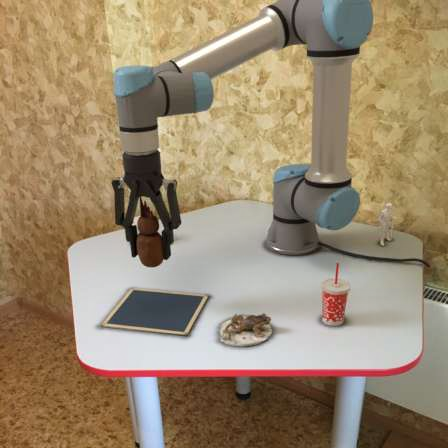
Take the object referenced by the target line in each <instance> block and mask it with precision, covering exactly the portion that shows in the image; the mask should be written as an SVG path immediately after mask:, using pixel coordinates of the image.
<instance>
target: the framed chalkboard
mask: <svg viewBox="0 0 448 448" xmlns="http://www.w3.org/2000/svg"><path fill="white" fill-rule="evenodd" d="M209 297H210V295H209V294H202V293H193V292H182V291H181V292H179V291H170V290H159V289H148V288H138V287H130V289H129V290H128V291H127V293H126V294H125V295H124V296H123V298H122V299H121V300H120V302H118V304H116V306H115V307H114V308H113V310H112V311H111V312H110V313H109V314H108V316H107V317H106V318H105V320H104V321H103V322H102V323H101V324H100V327H101V328H109V329H116V330H117V329H120V330H128V331H136V332H146V333H154V334H163V335H171V336H181V337H188V335H189V333H190V331H191V330H192V328H193V327H194V324H195V322H196V320H197V318H198V317H199V314H200V313H201V311H202V310H203V307H204V306H205V304H206V302H207V300H208V299H209Z"/></svg>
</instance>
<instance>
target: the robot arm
mask: <svg viewBox="0 0 448 448" xmlns="http://www.w3.org/2000/svg"><path fill="white" fill-rule="evenodd" d="M372 5H373V4H372V3H371V0H276V1H275V2H273V3H271V4H269V5H267V6H265V7H263V8H261V9H260V11H259V13H258V16H256V17H254V18H251V19H250V20H248V21H246V22H243V23H242V24H239V25H237V26H236V27H234V28H232V29H230V30H227V31H226V32H224V33H221V34H219V35H217V36H215V37H213V38H211V39H209V40H207V41H205V42H202V43H201V44H199V45H197V46H195V47H193V48H191V49H189V50H187V51H185V52H183V53H181V54H179V55H177V56H175V57H173V58H171V59H169V60H167V61H164V62H163V63H161V64H159V65H157V66H150V65H124V66H119V67H117V68H116V69H115V70H114V72H113V87H114V88H113V90H114V95H113V96H114V97H115V106H116V112H117V120H118V128H119V139H120V140H119V141H120V148H121V150H122V155H121V156H122V164H123V171H124V175H123V177H119V176H118V177H115V178H114V179H113V180H111V182H110V183H111V187H112V189H113V192H114V193H113V194H114V196H113V197H114V224H115V225H116V226H120V227H123V228H124V235H125V240H126V242H128V243H129V246H130V252H131V258H136V257H137V256H138V253H137V247H136V239H137V235H138V234H137V225H133V226H132V224H133V223H134V222H133V221H134V217H136V212H137V209H138V205H139V201H140V197H141V198H142V197H145V198H147V199H149V200H150V202H151V203H152V204H153V207H154V208H155V211H156V213H157V216H158V219H159V220H160V222H161V224H162V227H163V229H162V231H161V232H160V234H161V236H162V244H163V255H164V260H163V261H168V260H169V259H170V258H171V256H172V248H171V245H172V244H174V242H175V236H174V235H175V234H174V230H178V229H179V227H180V226H181V225H182V217H181V212H180V206H179V200H178V194H177V187H178V181H177V180H176V179H172V180H170V179H167V178H165V177H164V175H163V172H162V160H161V159H162V158H161V152H160V150H158V149H160V136H159V124H158V118H164V117H171V116H181V115H189V114H197V113H203V112H206V111H209V110H210V109H211V107H212V106H213V103H214V97H215V96H214V94H215V93H214V86H213V82H212V80H214V79H216V78H218V77H220V76H222V75H224V74H226V73H228V72H229V71H231V70H233V69H236V68H238V67H239V66H241V65H244V64H245V63H248V62H249V61H251V60H253V59H255V58H257V57H259V56H261V55H263V54H265V53H267V52H269V51H274V52H279V51H282V49H285V48H288V47H291V46H299V45H305V46H306V58H307V59H308V60H309V62H310V63H311V64H312V105H311V106H312V108H311V151H310V153H311V154H310V163H296V164H287V165H283V166H279V167H278V168H276V169H275V171H274V173H273V180H272V185H273V187H272V191H273V193H272V195H273V197H272V199H273V201H272V221H271V224H270V227H269V228H268V230H267V235H266V239H265V244H266V246H265V247H266V248H267V249H268V250H270V251H272V252H274V253H276V254H279V255H285V256H302V255H308V254H311V253H314V252H316V251H317V250H318V249H319V247H324V248H327V249H330V250H332V251H334V252H338V253H341V254H344V255H348V256H351V257H356V258H360V259H366V260H367V259H368V260H374V261H375V260H376V261H386V262H394V263H395V262H396V263H405V262H407V263H408V262H416V263H421V264H423V265H425V266H426V267H427V268H431V265H430V264H429V263H428V262H427V261H426V260H424V259H421V258H416V257H412V258H391V257H383V256H382V257H380V256H374V255H373V256H372V255H365V254H360V253H356V252H351V251H347V250H343V249H340V248H337V247H334V246H331V245H329V244H326V243H323V242H321V241H320V237H319V232H318V229H317V227H319V228H321V229H326V230H329V231H339V230H342V229H344V228H346V227H347V226H348V225H350V224H351V222H352V221H353V219H355V218H356V215H357V214H358V212H359V210H360V206H361V196H360V193H359V192H358V191H357V189H356V188H354V187H353V186H352V183H353V181H352V180H353V173H352V172H351V171H350V170H349V169H348V168H347V159H348V142H349V123H350V106H351V89H352V72H353V71H352V69H353V63H354V61H355V60H356V59H358V57H359V56H360V53H361V46H363V44H365V43H366V41H367V39H368V36H370V35H371V32H372V30H373V26H374V9H373V6H372ZM162 186H163V187H164V190H165V192H166V198H167V203H168V208H167V206H166V204H165V201H164V199H163V193H162V191H161V187H162ZM125 187H127V188H128V189H129V190H130V193H129V197H128V204H127V208H126V207H125V205H126V204H125V201H126V200H125ZM168 209H169V210H168ZM316 225H317V226H316Z"/></svg>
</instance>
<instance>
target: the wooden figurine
mask: <svg viewBox="0 0 448 448" xmlns="http://www.w3.org/2000/svg"><path fill="white" fill-rule="evenodd" d="M139 209H140V212H139V213H140V215H139V216H140V217H139V219H138V222H137V226H138V230H139V232H140V233H139V234H138V235H137V239H136V247H137V253H138V255H137V256H138V258H139V261H140V263H141V265H143V266H145V267H146V268H156V267H159V266H161V265H162V264H163V262H164V261H165V260H164V255H163V244H162V233H161V232H159V229H160V222H159V217H158V216H156V215H154V213H153V210H151V208H150V206H148V204H147V200H143V198H142V197H139Z"/></svg>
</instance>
